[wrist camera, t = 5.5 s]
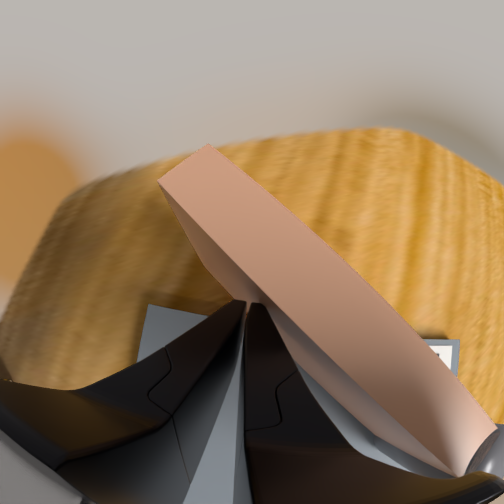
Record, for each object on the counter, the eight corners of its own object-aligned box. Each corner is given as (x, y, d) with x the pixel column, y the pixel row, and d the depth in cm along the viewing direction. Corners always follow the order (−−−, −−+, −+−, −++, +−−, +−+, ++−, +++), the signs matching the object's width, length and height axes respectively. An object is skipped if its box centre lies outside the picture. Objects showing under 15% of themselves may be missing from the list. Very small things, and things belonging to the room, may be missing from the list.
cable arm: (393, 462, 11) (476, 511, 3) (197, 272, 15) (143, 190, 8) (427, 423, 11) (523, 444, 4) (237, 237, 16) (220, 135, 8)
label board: (405, 528, 9) (412, 535, 8) (128, 509, 11) (121, 516, 10) (451, 341, 14) (461, 339, 13) (154, 307, 16) (147, 303, 15)
